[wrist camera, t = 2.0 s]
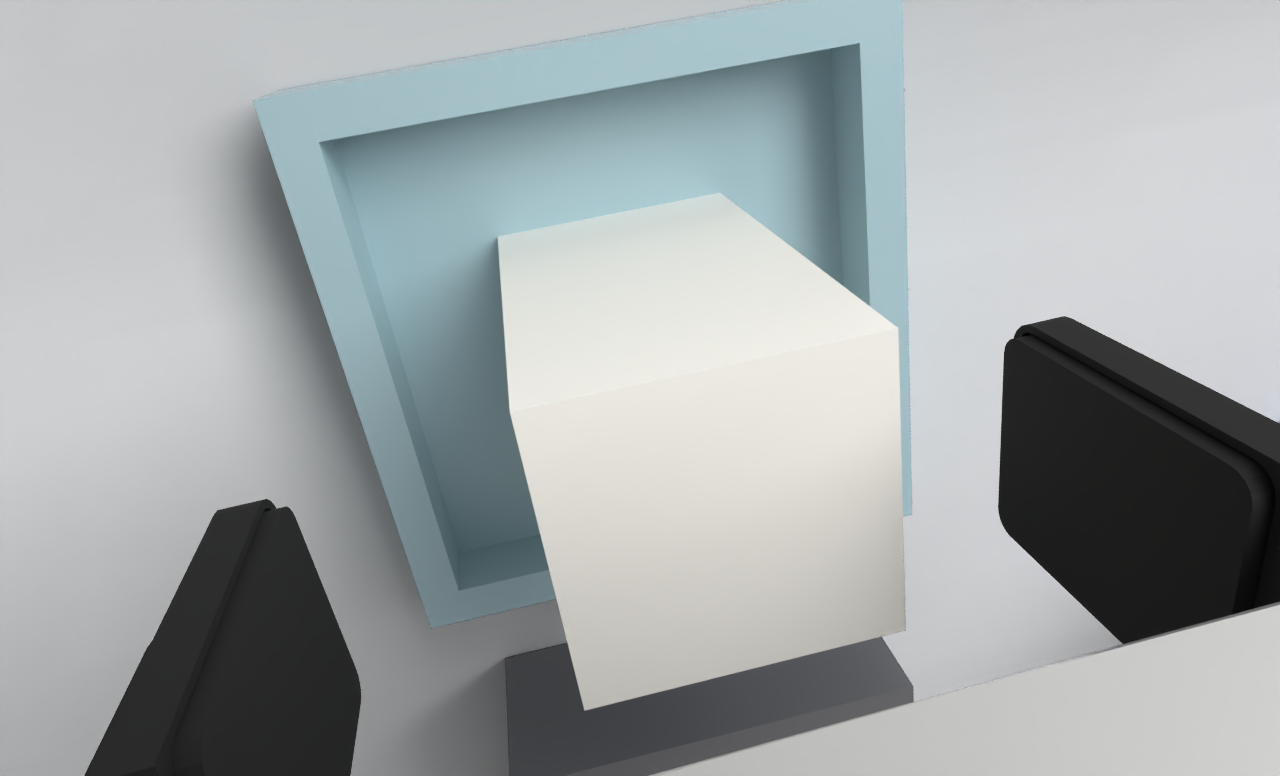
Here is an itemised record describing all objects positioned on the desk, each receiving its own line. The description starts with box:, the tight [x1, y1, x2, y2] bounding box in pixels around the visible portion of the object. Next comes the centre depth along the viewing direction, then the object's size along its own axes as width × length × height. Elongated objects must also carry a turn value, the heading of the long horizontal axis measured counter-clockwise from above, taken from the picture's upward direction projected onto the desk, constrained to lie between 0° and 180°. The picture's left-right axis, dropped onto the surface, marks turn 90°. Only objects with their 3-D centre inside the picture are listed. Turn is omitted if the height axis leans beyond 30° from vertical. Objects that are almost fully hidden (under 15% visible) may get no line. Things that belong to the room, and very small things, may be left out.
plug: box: [498, 193, 906, 711], centre depth 14 cm, size 4×4×8 cm
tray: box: [253, 0, 912, 629], centre depth 17 cm, size 11×11×2 cm
